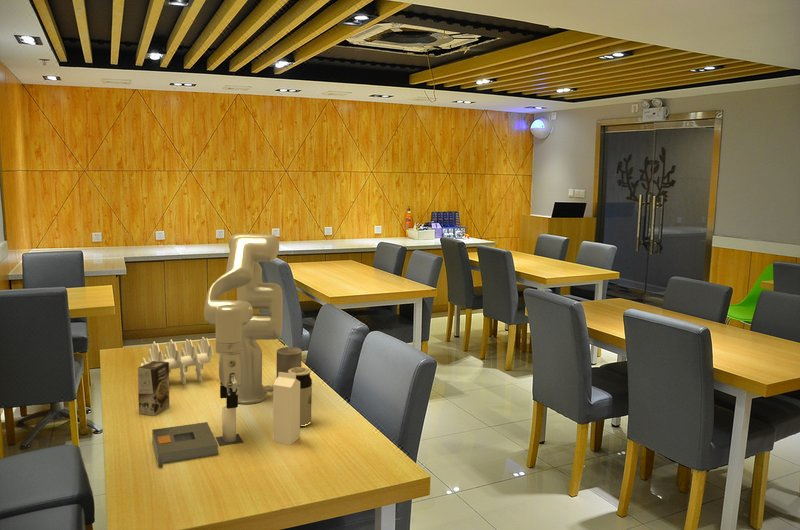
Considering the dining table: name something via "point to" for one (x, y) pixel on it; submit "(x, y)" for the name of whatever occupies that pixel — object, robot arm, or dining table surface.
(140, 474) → the dining table surface
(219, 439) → the pad
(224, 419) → the peg
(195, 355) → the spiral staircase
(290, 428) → the milk
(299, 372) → the travel mug
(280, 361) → the pillar candle
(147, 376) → the coffee box
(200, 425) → the block
